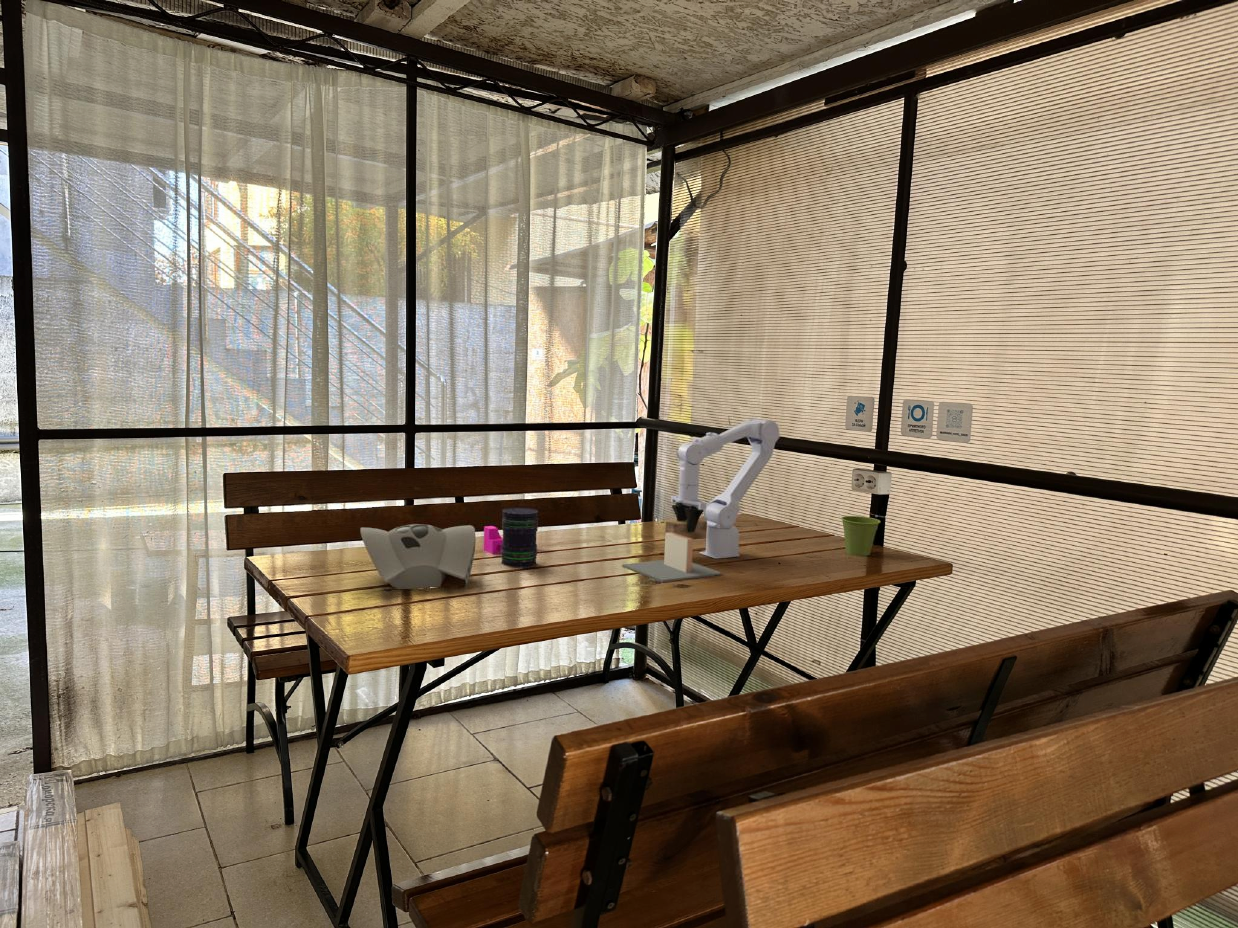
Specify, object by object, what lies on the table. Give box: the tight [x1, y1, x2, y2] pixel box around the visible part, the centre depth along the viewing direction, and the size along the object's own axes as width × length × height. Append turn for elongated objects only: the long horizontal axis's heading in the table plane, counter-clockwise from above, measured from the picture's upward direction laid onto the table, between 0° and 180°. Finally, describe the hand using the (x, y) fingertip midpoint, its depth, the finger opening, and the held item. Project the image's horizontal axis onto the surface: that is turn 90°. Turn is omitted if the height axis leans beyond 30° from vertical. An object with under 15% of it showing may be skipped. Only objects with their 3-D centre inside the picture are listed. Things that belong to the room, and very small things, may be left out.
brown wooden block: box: [664, 519, 707, 541], centre depth 252 cm, size 12×4×5 cm, turn 122°
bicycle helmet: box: [359, 523, 477, 590], centre depth 213 cm, size 28×25×16 cm
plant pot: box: [840, 515, 881, 557], centre depth 267 cm, size 12×12×11 cm
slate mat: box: [622, 559, 723, 583], centre depth 236 cm, size 20×19×1 cm
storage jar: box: [500, 507, 539, 569], centre depth 236 cm, size 10×10×15 cm
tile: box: [663, 532, 694, 572], centre depth 237 cm, size 2×10×9 cm, turn 33°
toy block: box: [483, 525, 503, 555], centre depth 252 cm, size 15×6×8 cm, turn 122°
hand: (686, 530), depth 252 cm, fingers closed on brown wooden block, 4 cm apart
